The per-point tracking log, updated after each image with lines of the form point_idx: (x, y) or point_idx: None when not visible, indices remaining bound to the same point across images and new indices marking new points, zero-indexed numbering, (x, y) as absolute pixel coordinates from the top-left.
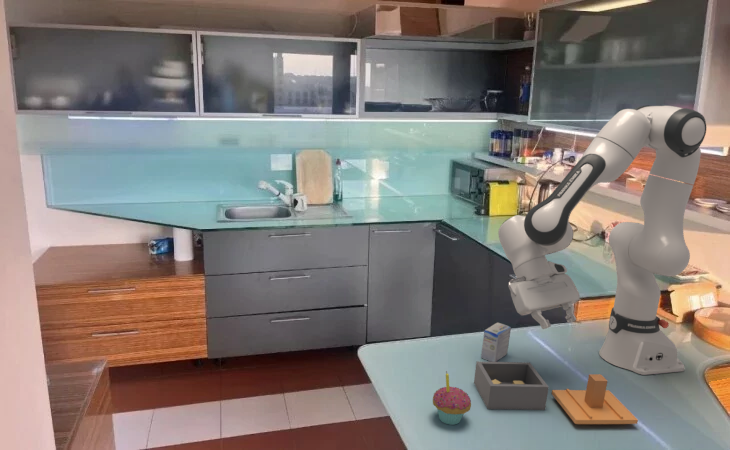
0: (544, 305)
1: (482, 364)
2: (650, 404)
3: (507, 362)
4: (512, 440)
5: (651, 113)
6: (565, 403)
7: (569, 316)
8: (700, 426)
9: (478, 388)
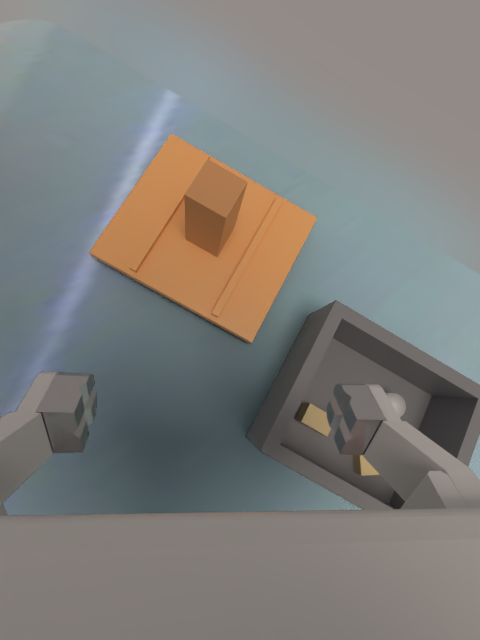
0: (425, 522)
1: None
2: (12, 180)
3: (338, 492)
4: (463, 275)
5: None
6: (277, 276)
7: (82, 407)
8: (9, 66)
9: None
